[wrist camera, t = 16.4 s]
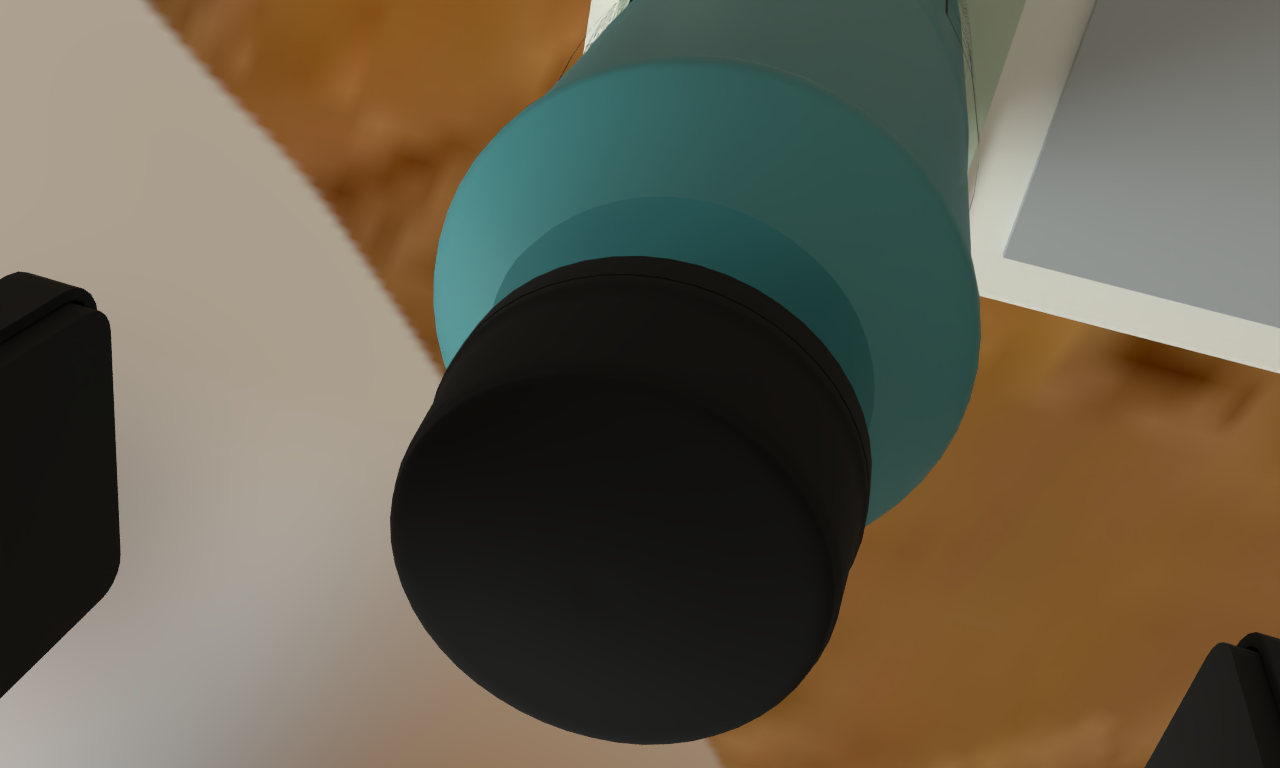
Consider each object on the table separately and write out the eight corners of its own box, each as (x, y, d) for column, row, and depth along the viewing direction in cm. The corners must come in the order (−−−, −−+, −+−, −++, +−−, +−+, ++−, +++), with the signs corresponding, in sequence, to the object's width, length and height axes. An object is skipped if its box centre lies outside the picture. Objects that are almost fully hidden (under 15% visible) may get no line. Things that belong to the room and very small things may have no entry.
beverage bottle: (731, -183, 25) (269, 54, 8) (1030, -64, 25) (1195, 432, 8) (633, 104, 29) (163, 694, 12) (896, 211, 28) (811, 968, 11)
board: (1644, -101, 24) (1678, -91, 22) (1369, 379, 29) (1385, 406, 28) (649, -312, 26) (636, -313, 24) (573, 174, 31) (559, 191, 30)
